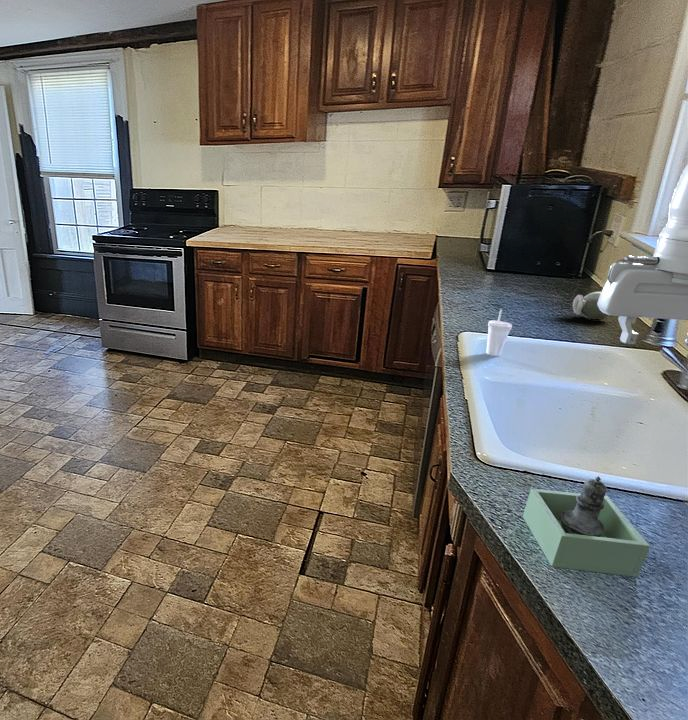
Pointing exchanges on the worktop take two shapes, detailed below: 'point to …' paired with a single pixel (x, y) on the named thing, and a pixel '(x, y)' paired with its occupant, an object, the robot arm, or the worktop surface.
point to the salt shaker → (586, 511)
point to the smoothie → (497, 335)
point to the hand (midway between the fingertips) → (659, 344)
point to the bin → (584, 536)
